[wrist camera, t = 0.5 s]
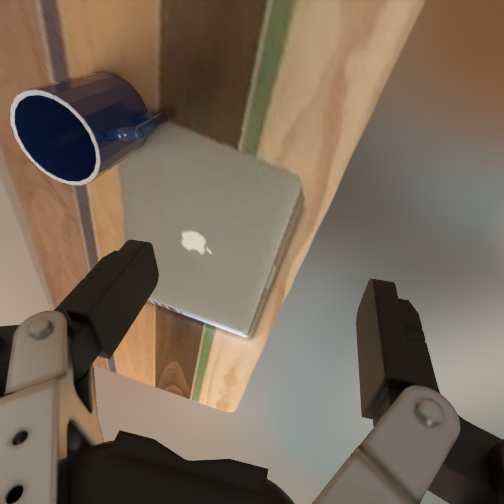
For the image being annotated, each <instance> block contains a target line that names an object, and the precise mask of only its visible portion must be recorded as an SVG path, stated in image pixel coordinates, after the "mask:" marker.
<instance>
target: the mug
mask: <svg viewBox="0 0 504 504" xmlns="http://www.w3.org/2000/svg"><path fill="white" fill-rule="evenodd" d="M168 121H169V116H168V114H167V113H165V112H149V113H147V110H146V107H145V105H144V103H143V101H142V99H141V97H140V96H139V94H138V93H137V92H136V91H135V89H134V88H133V87H132V86H131V85H130V84H129V83H128V82H126V81H125V80H124V79H122V78H120V77H119V76H117V75H114V74H112V73H108V72H96V73H89V74H86V75H82V76H78V77H74V78H70V79H66V80H62V81H58V82H54V83H50V84H46V85H43V86H39V87H35V88H31V89H27V90H24V91H23V92H21V93H20V94H18V95H17V96H16V97H15V98H14V100H13V102H12V105H11V107H10V122H11V126H12V129H13V133H14V135H15V138H16V140H17V141H18V143H19V145H20V147H21V149H22V150H23V152H24V153H25V154H26V155H27V156H28V158H29V159H30V160H31V161H32V163H33V164H35V165H36V166H37V167H38V168H39V169H40V170H41V171H43V172H44V173H45V174H47V175H48V176H50V177H52V178H53V179H55V180H57V181H59V182H62V183H65V184H68V185H85V184H87V183H90V182H92V181H93V180H95V179H96V178H98V177H99V176H101V175H102V174H103V173H105V172H106V171H108V170H109V169H111V168H112V167H113V166H115V165H116V164H118V163H119V162H121V161H122V160H123V159H125V158H126V157H128V156H129V155H131V154H132V153H133V152H135V151H136V150H138V149H139V148H140V147H141V146H142V145H143V144H144V142H145V141H146V139H147V137H148V135H150V134H151V133H153V132H154V131H156V130H157V129H159V128H160V127H162V126H163V125H165V124H166V123H167V122H168Z"/></svg>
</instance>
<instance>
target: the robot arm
mask: <svg viewBox="0 0 504 504" xmlns="http://www.w3.org/2000/svg"><path fill="white" fill-rule="evenodd" d="M158 277H159V273H158V268H157V263H156V259H155V255H154V250H153V246H152V244H151V243H149V242H143V241H137V240H128V241H127V242H126V243H125V244H124V245H123V247H122V248H121V249H120V250H119V251H113V252H112V253H110V254H108V255H107V256H105V257H103V258H102V259H101V260H100V261H99V262H98V263H97V264H96V265H95V267H94V268H93V270H91V271H90V272H89V273H88V274H87V275H86V278H85V279H84V278H83V280H82V281H81V282H80V283H79V284H78V285H77V286H76V287H75V288H74V289H73V290H72V292H71V293H70V294H69V295H68V296H67V297H66V298H65V299H64V300H63V301H62V302H61V303H60V305H59V306H58V307H57V308H56V309H55V310H54V311H44V312H40V313H37V314H35V315H33V316H31V317H29V318H28V319H26V320H25V321H24V322H23V323H21V325H13V326H1V327H0V504H294V502H293V501H292V500H291V499H290V497H289V496H288V495H287V494H286V493H285V492H284V491H283V490H282V489H281V488H279V487H278V486H277V485H276V484H274V483H273V482H271V481H270V480H268V479H267V473H268V469H266V468H262V467H258V466H254V465H251V464H247V463H243V462H239V461H235V460H231V459H220V460H199V461H188V460H185V459H183V458H182V457H180V456H179V455H177V454H175V453H174V452H173V451H171V450H170V449H168V448H167V447H165V446H163V445H162V444H160V443H159V442H157V441H156V440H154V439H151V438H147V437H143V436H139V435H136V434H132V433H128V432H124V431H119V433H118V435H117V437H116V438H115V440H114V441H109V442H104V439H103V434H102V430H101V428H100V424H99V421H98V415H97V402H96V390H95V377H94V367H93V364H92V363H93V362H94V361H95V359H96V358H97V356H99V357H103V358H108V359H110V358H111V356H112V355H113V353H114V352H115V350H116V348H117V347H118V345H119V344H120V342H121V341H122V339H123V337H124V336H125V334H126V333H127V331H128V330H129V328H130V327H131V325H132V323H133V322H134V320H135V319H136V317H137V316H138V314H139V312H140V311H141V309H142V308H143V306H144V305H145V303H146V301H147V300H148V298H149V297H150V295H151V294H152V292H153V290H154V289H155V287H156V285H157V282H158ZM356 327H357V328H356V329H357V345H358V362H359V378H360V394H361V411H362V417H365V418H369V419H373V425H374V428H373V430H371V432H370V433H369V434H368V436H367V437H366V438H365V439H364V441H363V442H362V443H361V444H360V445H359V446H358V447H357V448H356V449H355V450H354V452H353V453H352V454H351V455H350V457H349V458H348V459H347V460H346V462H345V463H344V464H343V465H342V467H341V468H340V469H339V470H338V472H337V473H336V474H335V475H334V477H333V478H332V479H331V480H330V482H329V483H328V484H327V485H326V487H325V488H324V489H323V491H322V492H321V493H320V494H319V495H318V497H317V498H316V499H315V500H314V502H313V503H312V504H420V502H421V500H422V498H423V496H424V494H425V493H426V491H427V490H428V491H430V492H432V493H433V494H435V495H437V496H438V497H440V498H441V499H443V500H445V501H446V502H448V503H450V504H504V439H503V440H502V439H500V438H498V437H496V436H494V435H492V434H491V433H489V432H486V431H484V430H483V429H480V428H479V427H477V426H475V425H473V424H471V423H469V422H467V421H466V420H464V419H463V418H461V417H460V416H459V415H458V414H457V413H456V411H455V409H454V407H453V406H452V405H451V404H450V402H449V401H447V399H446V398H444V397H443V396H442V395H441V394H440V392H439V389H438V386H437V382H436V378H435V374H434V371H433V367H432V363H431V359H430V355H429V352H428V348H427V344H426V343H425V336H424V333H423V331H422V325H421V321H420V317H419V314H418V312H417V311H416V310H415V308H414V307H413V306H412V304H411V303H410V302H409V300H402V299H398V295H397V291H396V286H395V283H394V282H389V281H383V280H376V279H370V280H369V282H368V284H367V287H366V289H365V292H364V295H363V297H362V300H361V303H360V305H359V308H358V312H357V319H356Z"/></svg>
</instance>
